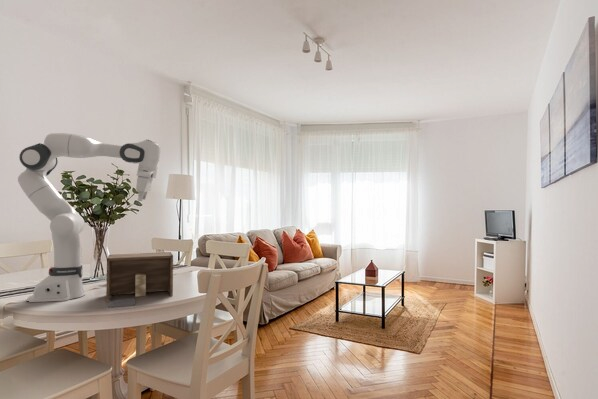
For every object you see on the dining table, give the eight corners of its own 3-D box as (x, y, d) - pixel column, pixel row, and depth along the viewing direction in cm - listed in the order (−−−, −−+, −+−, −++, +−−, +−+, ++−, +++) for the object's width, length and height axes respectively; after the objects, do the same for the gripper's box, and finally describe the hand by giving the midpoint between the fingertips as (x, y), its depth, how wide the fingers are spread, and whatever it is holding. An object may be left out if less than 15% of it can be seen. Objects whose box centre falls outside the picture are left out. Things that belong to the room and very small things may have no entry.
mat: (108, 307, 158) (108, 306, 158) (109, 302, 168) (109, 300, 168) (134, 305, 162) (134, 303, 162) (134, 300, 171) (134, 298, 171)
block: (135, 296, 179) (135, 275, 179) (135, 294, 183) (135, 273, 183) (145, 295, 180) (145, 274, 181) (145, 293, 185) (145, 273, 185)
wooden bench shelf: (172, 295, 180) (173, 255, 180) (106, 301, 169) (106, 258, 169) (170, 289, 194) (170, 252, 194) (108, 294, 183) (109, 254, 183)
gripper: (143, 171, 199) (138, 197, 200) (136, 172, 179) (130, 200, 180) (156, 173, 201) (151, 199, 201) (150, 174, 181) (144, 203, 181)
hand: (141, 200), depth 190 cm, fingers open, 8 cm apart
